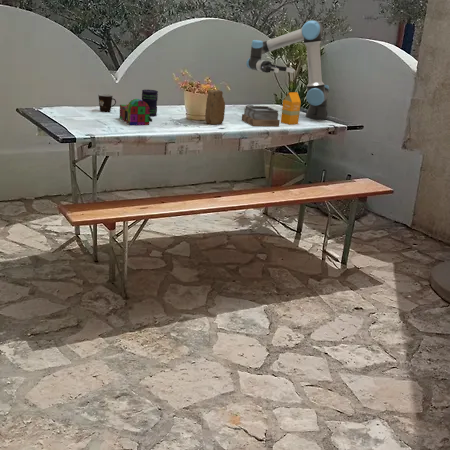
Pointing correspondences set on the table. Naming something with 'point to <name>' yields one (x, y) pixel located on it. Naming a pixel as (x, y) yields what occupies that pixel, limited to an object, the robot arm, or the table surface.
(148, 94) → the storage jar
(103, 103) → the coffee mug
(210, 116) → the block
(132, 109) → the multicoloured round-topped piece
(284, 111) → the orange juice
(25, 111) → the table surface
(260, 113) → the grey square tray
